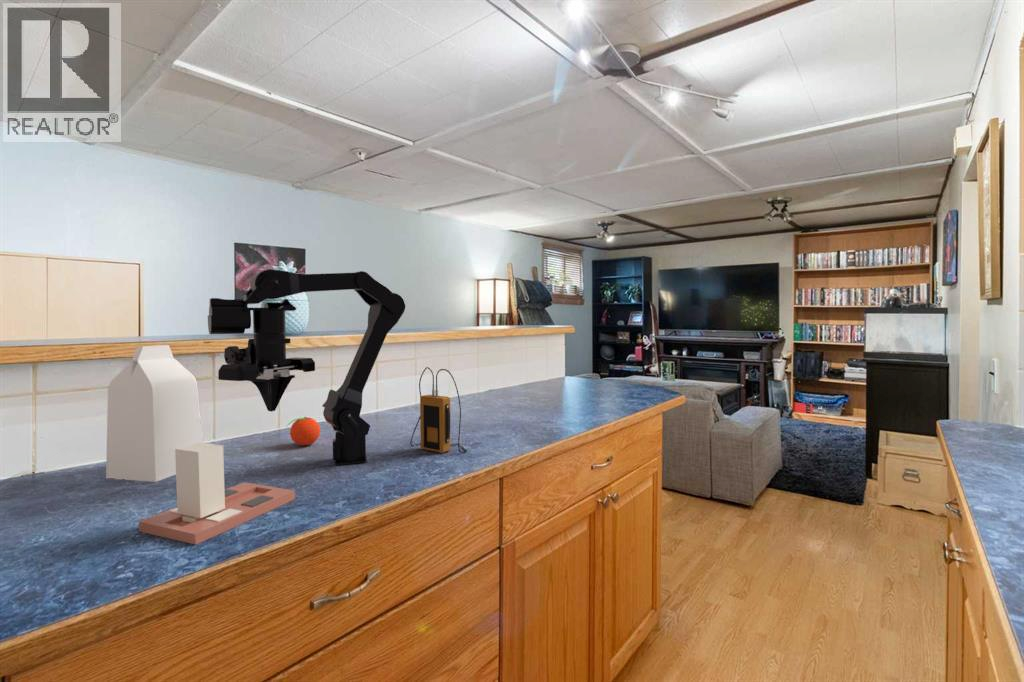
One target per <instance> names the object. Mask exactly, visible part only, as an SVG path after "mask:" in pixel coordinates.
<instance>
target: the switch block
mask: <svg viewBox="0 0 1024 682" xmlns="http://www.w3.org/2000/svg"><path fill="white" fill-rule="evenodd" d="M224 490H225V509H222V510H221V511H219V512H217V513H215V514H212V515H210V516H207V517H205V518H202V519H200V520H198V521H195V522H193V523H190V522H185V521H182V516H184V515H182V514H177V506H176V507H174V508H172V509H171V508H170V509H168V510H165V511H163V512H160V513H158V514H155V515H152V516H151V517H150V516H149V517H147V518H144V519H141V520H139V521H138V531H139V532H142V533H144V534H149V535H153V536H157V537H162V538H166V539H171V540H173V541H179V542H182V543H187V544H190V545H195V546H196V545H198V544H200V543H203V542H205V541H207V540H209V539H212V538H213V537H216V536H218V535H220V534H222V533H224V532H227V531H229V530H231V529H233V528H235V527H237V526H240V525H242V524H244V523H246V522H248V521H251V520H253V519H255V518H257V517H259V516H262V515H264V514H266V513H268V512H270V511H272V510H275V509H277V508H279V507H281V506H283V505H286V504H287V503H290V502H292V501H294V500H296V490H292V489H287V488H282V487H275V486H271V485H270V486H269V485H262V484H257V483H251V482H246V481H245V482H242V483H239V484H236V485H234V486H231V487H228V488H224Z"/></svg>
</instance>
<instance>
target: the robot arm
mask: <svg viewBox="0 0 1024 682" xmlns="http://www.w3.org/2000/svg"><path fill="white" fill-rule="evenodd" d="M249 283H250V284H249V287H250V288H249V289H248V290H247V291H246V293H244V295H242V297H241V298H240V299H224V298H219V297H211V298H209V307H208V315H207V327H208V333H209V335H244V333H245V331H246V330H249V329H251V326H252V327H253V328H252V329H253V333H252V334H253V338H248V341H247V346H246V347H243V348H239V346H238V345H235V346H233V345H232V346H231V345H230V346H228V347H226V348H224V356H223V357H224V361H225V363H226V364H222V365H221V366H220V367H219V369H218V370H217V371H218V380H219V381H232V382H233V381H234V382H244V381H245V382H246V381H247V382H251V383H252V384H254V385H255V386H256V388H257V390H258V391H259V393H260V395H261V398H262V400H263V403H264V405H265V407H266V409H267V411H268V412H276V409H277V408H278V405H279V403H280V402H281V399H282V397H283V394H284V393H285V391H286V390H287V388H288V386H289V384H290V383H291V381H292V379H294V378H296V375H295V374H290V373H291V372H290V371H302V372H303V373H308V372H309V373H310V372H315V371H316V362H315V361H314V359H313V358H312V357H297V356H296V357H288V358H287V348H286V347H287V344H291V337H289V338H288V337H287V338H286V312H289V311H290V312H292V311H293V312H295V311H296V310H297V307H296V306H294V305H293V304H292V303H291V302H290V301H289V299H288V298H284V297H289V296H294V295H297V294H301V293H312V292H313V293H314V292H329V291H331V292H333V291H347V290H348V291H349V290H350V291H351V290H354V291H355V292H356V294H358V296H359V297H360V298H361V299H362V301H364V303H365V304H367V305H368V306H369V308H368V309H369V310H368V313H367V327H366V330H365V333H364V334H363V337H362V339H361V341H360V343H359V347H358V349H357V350H356V352H355V354H354V358H353V360H352V362H351V364H350V367H349V369H348V372H347V373H346V376H345V379H344V381H343V383H342V384H341V386H340V387H339V388H338V389H337V390H334V389H329V391H328V395H327V398H326V400H325V401H324V402H323V404H322V406H321V407H323V412H322V413H323V417H324V418H323V419H325V421H326V422H327V423H328V424H329V425H331V427H332V428H333V431H334V432H335V437H334V438H333V440H332V460H333V461H334V463H335V464H334V465H336V466H340V465H350V464H360V463H367V462H368V459H367V452H366V451H367V450H366V448H367V446H366V443H367V442H366V436H368V435H369V431H370V428H371V425H370V424H369V423H368V422H367V421H366V420H364V419H363V418H362V417H361V416H360V415H361V410H362V406H363V393H364V389H365V387H366V384H367V381H368V379H369V377H370V374H371V373H372V370H373V367H374V366H375V364H376V361H377V358H378V356H379V353H380V352H381V349H382V347H383V345H384V342H385V339H386V337H387V335H388V333H390V331H391V330H392V329H393V328H394V327H395V326H396V325H397V324H398V322H399V320H400V319H401V317H402V316H403V314H404V313H405V310H406V303H405V300H404V299H403V297H402V296H401V295H400V294H398V293H394V292H392V291H391V290H390V289H389V288H387V287H386V286H385V285H384V284H382V283H380V282H379V281H377V280H376V279H375V278H374V277H373V276H371V275H370V273H368V272H366V271H363V270H362V271H355V272H337V273H336V272H335V273H334V272H333V273H332V272H331V273H297V272H292V271H288V270H287V271H286V270H279V269H271V268H270V269H264V270H262V271H260V272H257V273H255V274H254V275H253V276H252V277H251V280H250V282H249ZM280 298H284V299H282V301H281V302H270V301H269V302H265V303H264V305H263V307H248V305H255V304H260V303H262V302H263V301H268V300H276V299H280ZM251 312H252V313H251ZM251 314H252V316H251ZM252 323H253V325H252Z"/></svg>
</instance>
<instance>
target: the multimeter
mask: <svg viewBox="0 0 1024 682" xmlns="http://www.w3.org/2000/svg"><path fill="white" fill-rule="evenodd" d="M427 369H428V370H429V371H430V373H431V375H432V390H431V394H429V393H428V394H425V395H422V392H421V380H422V377H423V375H424V373H425V371H426V370H427ZM441 371H446V372H447V373H448V374H449V375H450V377H451V379H452V380H453V383H454V386H455V389H456V394H457V397H458V398H457V399H458V404H459V405H458V406H459V426H458V441H457V442H451V397H450V396H448V395H445V396H443V395H439V390H438V374H439V373H440V372H441ZM434 377H435V378H434ZM434 380H435V381H434ZM418 388H419V389H418V390H419V397H420V398H419V404H420V405H419V406H420V408H419V411H420V413H419V415H420V416H418V417H419V418H418V420H417V423H416V424H415V427H414V429H413V433H412V434H411V438H410V446H411V447H415V446H414V445H416V446H419V445H418V444H419V443H417V444H412V443H413V442H412V441H413V437H414V434H415V432H416V429H417V427H418V425H419V423H420V444H421V445H420V449H421V450H423V449H424V450H423V451H426V450H427V451H432V452H436V453H439V454H444V453H447V452H449V451H450V450H451V445H452V446H453V445H454V444H455V445H457V446H458V451H459V453H461V454H462V453H463V454H464V453H467V452H468V450H467V448H466V447H465V445H464V444H466V442H464V441H463V442H460V435H461V421H462V420H461V419H462V417H461V416H462V407H461V401H460V394H459V391H458V386H457V384H456V381H455V378H454V376H453V375H452V373H451V372H450V371H449V370H447V369H446V368H441V369H439V370H438V371H437V372H436V375H434V372H433V371H432V369H431V368H430V367H429V366H427V367H425V368H424V370H423V371H422V373H421V375H420V378H419V382H418ZM460 446H461V448H462V449H463V450H464V451H461V449H460ZM425 449H426V450H425Z"/></svg>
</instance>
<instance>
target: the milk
mask: <svg viewBox="0 0 1024 682" xmlns="http://www.w3.org/2000/svg"><path fill="white" fill-rule="evenodd" d="M196 379H197V378H196V377H195V376H194V375H193V373H191V371H189V370H188V369H187V368H186V367H185V366H184V365H182V364H181V363H180V362H179V361H178V360H177V359H176V358H175V357H174V355H173V352H172V350H171V347H170V345H168V344H160V345H158V344H157V345H143V346H137V347H136V350H135V352H134V354H133V356H132V359H131V361H130V362H129V363H128V364H127V365H126V366H125V367H123V369H122V370H121V371H119V373H118V374H117V375H115V376H114V377H113V379H112V380H111V381H110V383H109V385H108V387H107V411H106V412H107V414H106V415H107V416H106V419H107V420H106V421H107V422H106V457H105V458H106V460H105V461H106V462H105V463H106V464H105V465H106V466H105V467H106V468H105V469H106V470H105V479H108V478H114V480H122V479H125V480H124V481H139V482H150V483H151V482H152V483H153V482H154V483H156V482H160V481H162V480H164V479H168V478H170V477H173V476H176V458H175V449H177V448H181V447H185V446H189V445H193V444H197V443H200V442H201V443H204V435H203V426H202V418H201V417H202V416H201V407H200V399H199V398H200V397H199V388H198V382H197V380H196Z"/></svg>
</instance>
